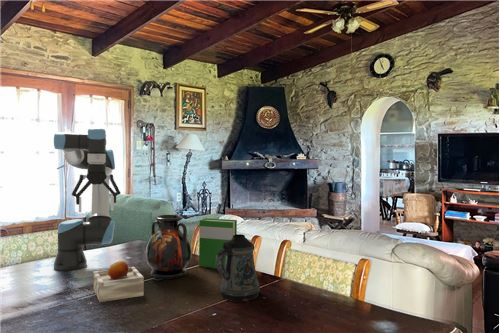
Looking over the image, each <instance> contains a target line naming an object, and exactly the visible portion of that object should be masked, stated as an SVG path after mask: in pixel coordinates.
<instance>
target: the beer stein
mask: <svg viewBox="0 0 500 333" xmlns="http://www.w3.org/2000/svg"><path fill="white" fill-rule="evenodd" d="M255 247H256V246H255V245H254V243H252V242H251V241H250V240H249V239H248V238H247V237H246V235H245V234H240V233H238V234H236V235H233V238H232V239H231V240H230V241H227V242H224V243H223V249H221V250H220V251H219V252H218V254H217V256H216V267H217V268H216V269H217V271H218V272H219V275H220V276H221V277H222V281H221V284H220V285H219V291H220V296H222V297H221V298H222V299H225V300H226V299H227V301H229V300H232V301H231V302H235V301H246V302H248V301H247V300H251V299H254V298H256V297H257V296H258V297H259V292H260V289H261V288H260V284H259V280H258V276H257V273H256V271H257V270H256V265H255V258H254V251H255ZM225 256H226V259H225V266H223V260H224V257H225ZM258 297H257V298H258ZM257 298H256V299H257ZM254 300H255V299H254ZM251 301H252V300H251Z"/></svg>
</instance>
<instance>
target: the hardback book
mask: <svg viewBox="0 0 500 333" xmlns="http://www.w3.org/2000/svg"><path fill="white" fill-rule="evenodd" d="M198 229H199V233H198V234H199V235H198V236H199V242H198V246H199V247H198V267H199V266H205V267H204V268H206V267H214V268H213V269H217V267H216V256H217V254H218V252H219V251H220V250H221V249H223V243H224V242H227V241H230V240H231V239H232V238H233V235H236V234H237V233H238V232H237V229H238V220H237V219H230V218H227V219H226V218H225V219H224V218H210V217H204V218H201V219H199V228H198ZM225 259H226V256H225V257H224V260H223V266H225Z"/></svg>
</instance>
